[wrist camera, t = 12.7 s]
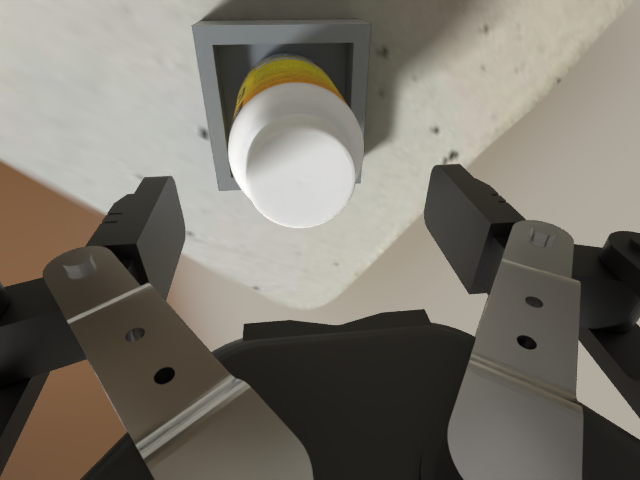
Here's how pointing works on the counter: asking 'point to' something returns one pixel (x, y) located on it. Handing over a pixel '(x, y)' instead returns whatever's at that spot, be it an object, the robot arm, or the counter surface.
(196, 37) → the bin
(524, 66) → the counter surface
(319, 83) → the supplement bottle
